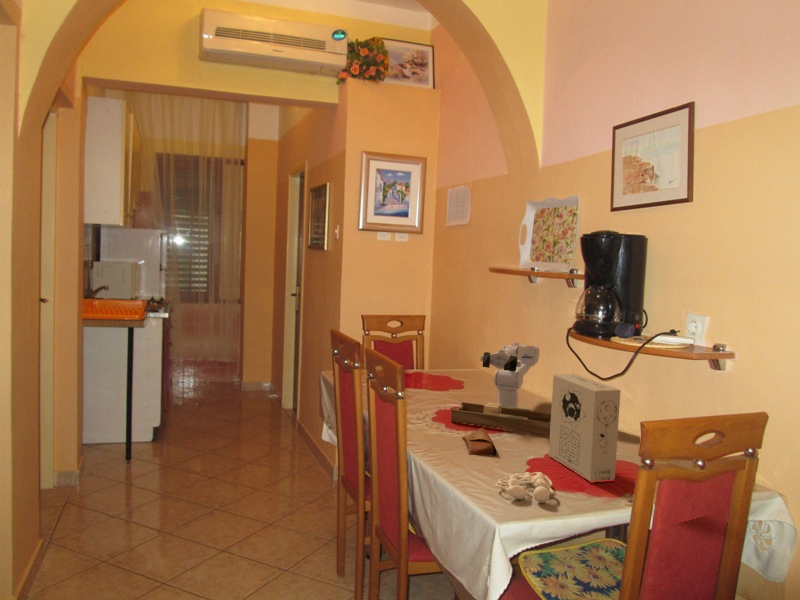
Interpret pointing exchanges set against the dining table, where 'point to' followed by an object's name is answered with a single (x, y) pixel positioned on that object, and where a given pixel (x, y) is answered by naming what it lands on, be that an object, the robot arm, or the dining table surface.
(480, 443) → the sunglasses case
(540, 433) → the trap lane
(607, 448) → the cereal box
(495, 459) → the dining table surface
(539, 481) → the tangled rod sculpture
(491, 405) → the birch block
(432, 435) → the dining table surface
